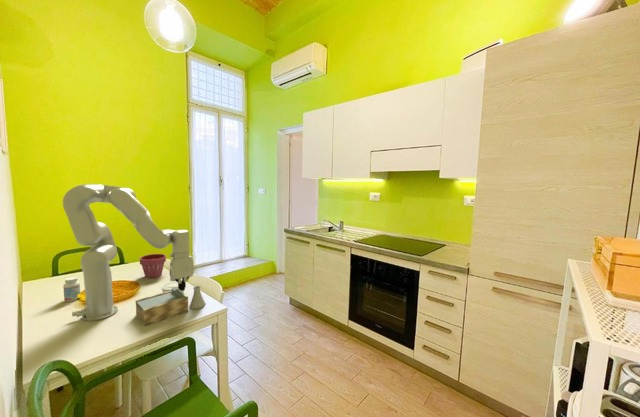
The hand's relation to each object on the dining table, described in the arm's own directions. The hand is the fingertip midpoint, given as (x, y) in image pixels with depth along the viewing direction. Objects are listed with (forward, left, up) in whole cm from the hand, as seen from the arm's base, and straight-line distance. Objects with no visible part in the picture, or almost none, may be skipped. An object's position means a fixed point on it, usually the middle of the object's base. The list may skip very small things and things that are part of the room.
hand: (182, 289), depth 131 cm
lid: (-10, -4, -1) cm, 11 cm away
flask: (+4, -8, -8) cm, 12 cm away
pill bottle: (-37, +43, -8) cm, 58 cm away
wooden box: (-10, -4, -7) cm, 13 cm away
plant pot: (+2, +52, -8) cm, 53 cm away
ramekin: (+1, +14, -8) cm, 16 cm away
